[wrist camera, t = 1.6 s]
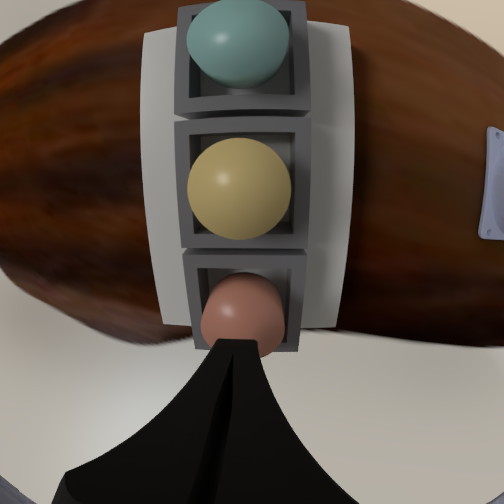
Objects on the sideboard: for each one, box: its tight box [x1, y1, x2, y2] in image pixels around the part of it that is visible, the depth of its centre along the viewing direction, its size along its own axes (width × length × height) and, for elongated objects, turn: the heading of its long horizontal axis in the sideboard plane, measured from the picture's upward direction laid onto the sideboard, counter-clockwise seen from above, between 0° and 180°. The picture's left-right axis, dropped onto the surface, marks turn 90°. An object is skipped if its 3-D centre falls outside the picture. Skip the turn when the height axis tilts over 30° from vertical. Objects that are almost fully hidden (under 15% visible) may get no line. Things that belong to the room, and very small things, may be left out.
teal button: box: [187, 0, 289, 89], centre depth 8 cm, size 3×3×2 cm
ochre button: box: [187, 138, 291, 240], centre depth 10 cm, size 3×3×2 cm
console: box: [140, 0, 355, 352], centre depth 12 cm, size 10×16×4 cm, turn 1°
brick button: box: [200, 272, 285, 358], centre depth 12 cm, size 3×3×2 cm
